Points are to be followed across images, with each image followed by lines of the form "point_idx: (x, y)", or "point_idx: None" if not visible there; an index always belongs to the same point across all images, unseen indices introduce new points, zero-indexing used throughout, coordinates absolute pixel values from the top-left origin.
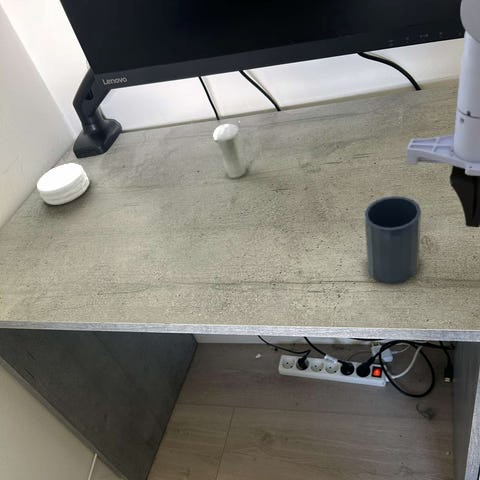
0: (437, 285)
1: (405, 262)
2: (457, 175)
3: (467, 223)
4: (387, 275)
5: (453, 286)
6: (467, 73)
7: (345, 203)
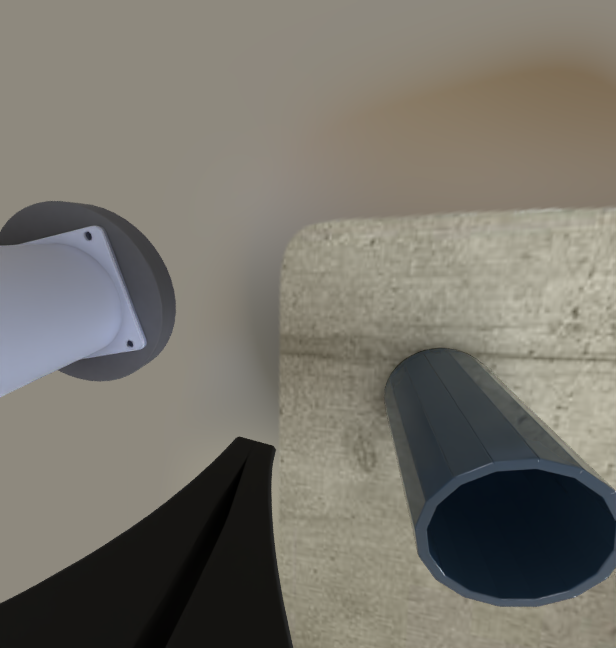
0: (348, 342)
1: (428, 381)
2: None
3: (268, 452)
4: (462, 358)
5: (317, 338)
6: None
7: None
